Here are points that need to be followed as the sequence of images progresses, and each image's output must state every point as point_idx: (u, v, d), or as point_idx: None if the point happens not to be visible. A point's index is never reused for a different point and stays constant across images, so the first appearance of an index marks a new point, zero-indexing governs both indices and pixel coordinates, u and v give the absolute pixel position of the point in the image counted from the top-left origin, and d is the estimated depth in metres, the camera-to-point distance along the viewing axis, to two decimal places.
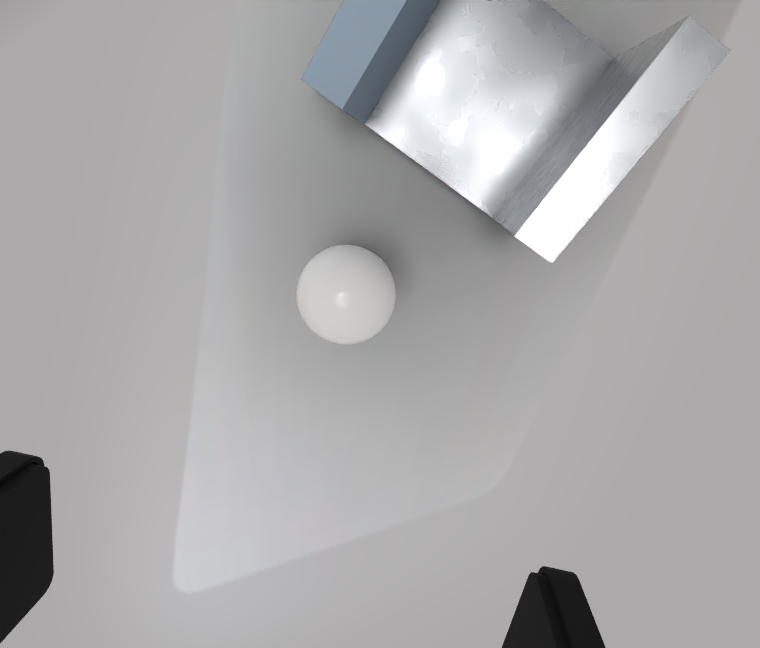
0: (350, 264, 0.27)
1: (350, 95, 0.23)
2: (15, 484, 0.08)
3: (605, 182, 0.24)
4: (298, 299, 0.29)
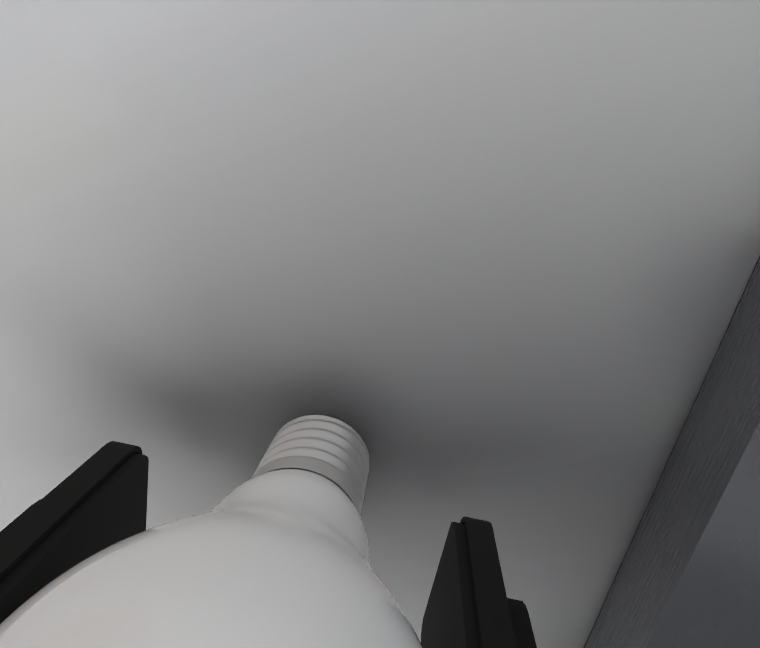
0: None
1: None
2: (126, 471, 0.09)
3: None
4: None
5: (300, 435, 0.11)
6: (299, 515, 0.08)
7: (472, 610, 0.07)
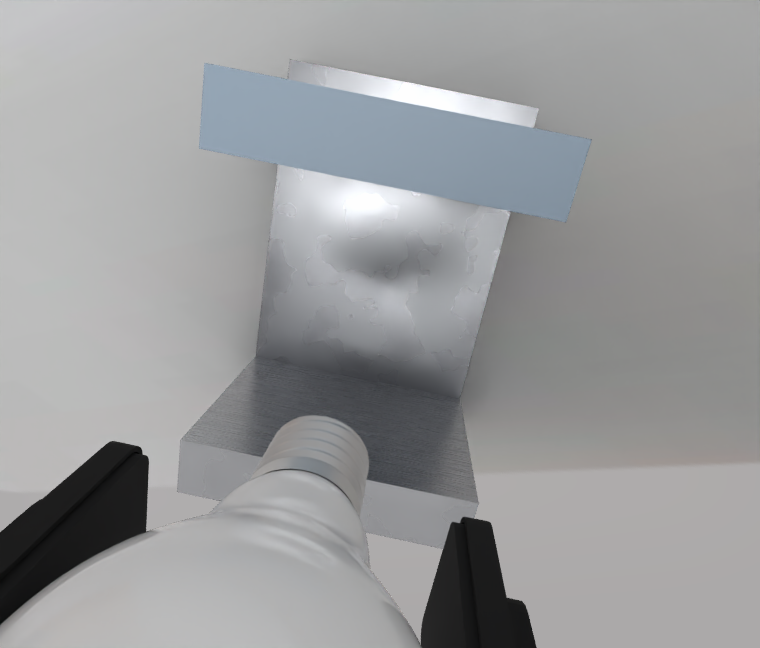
0: None
1: None
2: (126, 471, 0.09)
3: None
4: None
5: (299, 436, 0.11)
6: (298, 516, 0.08)
7: (472, 610, 0.07)
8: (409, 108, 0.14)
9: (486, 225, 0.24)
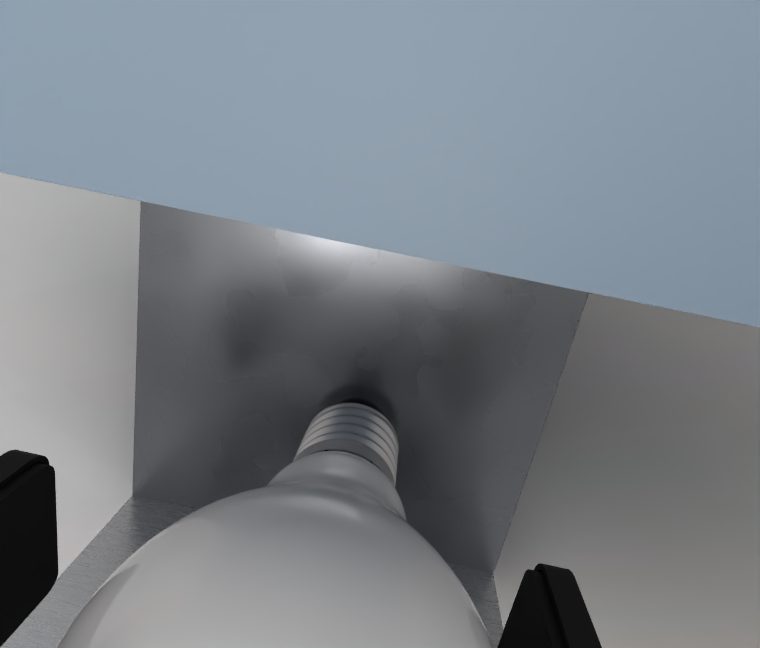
0: None
1: None
2: (21, 483, 0.08)
3: None
4: None
5: (336, 421, 0.12)
6: (352, 487, 0.08)
7: None
8: None
9: None
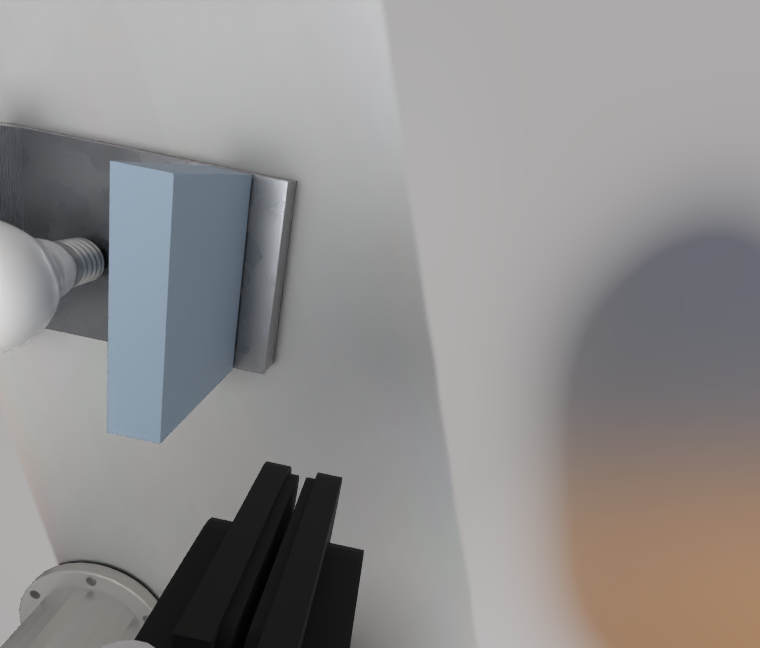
0: None
1: (110, 181, 0.18)
2: (290, 492, 0.09)
3: None
4: None
5: (92, 258, 0.27)
6: (62, 288, 0.24)
7: (288, 549, 0.08)
8: (162, 330, 0.20)
9: None
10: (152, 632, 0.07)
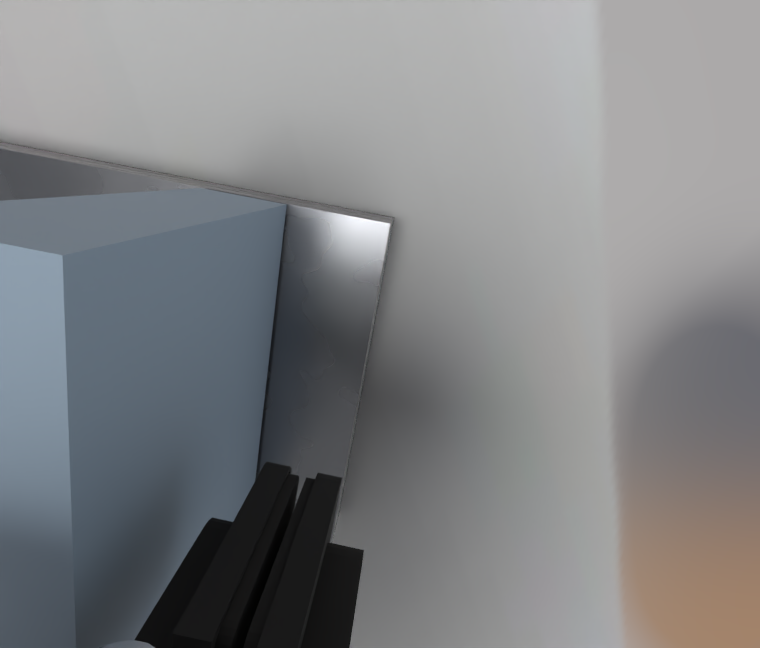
0: None
1: None
2: (291, 492, 0.09)
3: None
4: None
5: None
6: None
7: (287, 549, 0.08)
8: None
9: None
10: (152, 632, 0.07)
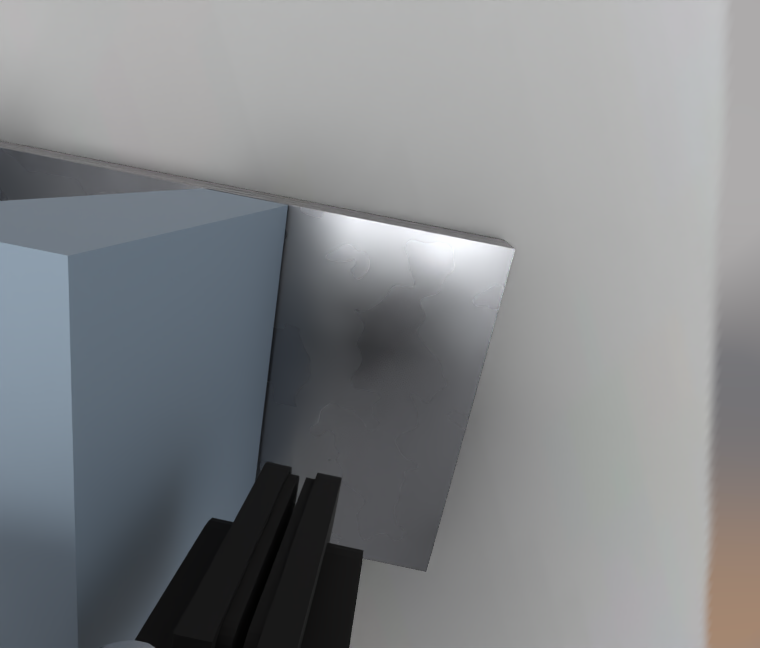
0: None
1: None
2: (291, 492, 0.09)
3: None
4: None
5: None
6: None
7: (287, 549, 0.08)
8: None
9: None
10: (153, 632, 0.07)
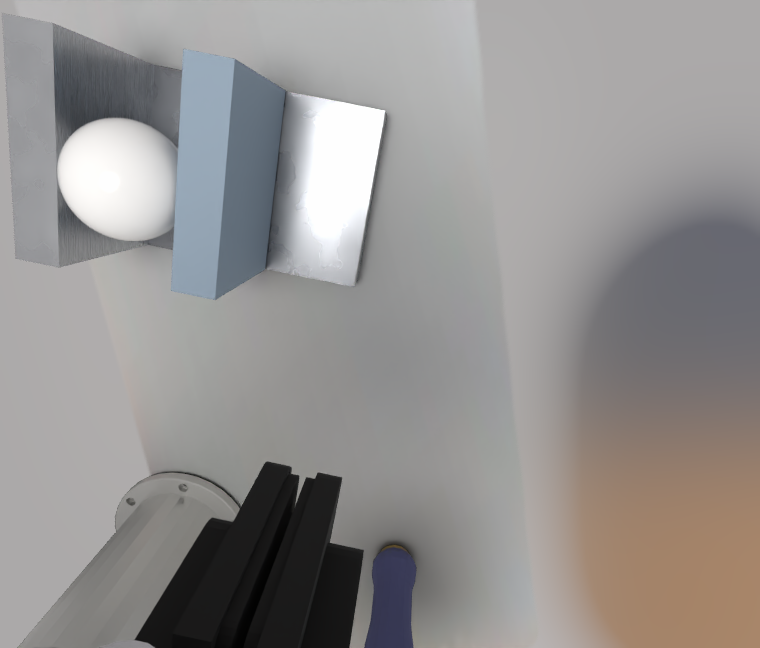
0: (115, 231, 0.24)
1: (182, 66, 0.22)
2: (291, 492, 0.09)
3: (18, 119, 0.24)
4: (147, 160, 0.23)
5: None
6: None
7: (287, 549, 0.08)
8: (220, 196, 0.24)
9: (279, 257, 0.34)
10: (152, 632, 0.07)
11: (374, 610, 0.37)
